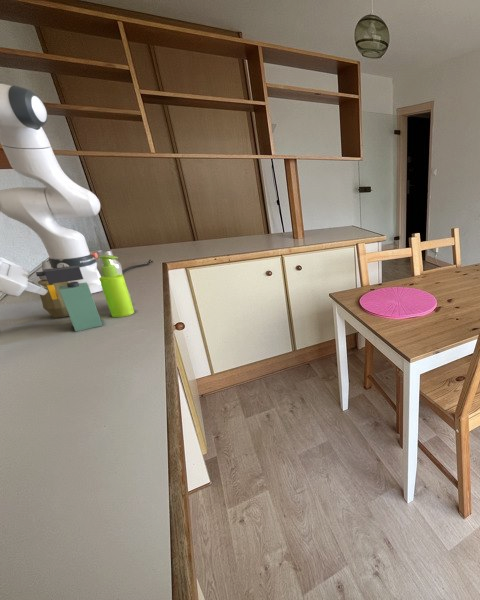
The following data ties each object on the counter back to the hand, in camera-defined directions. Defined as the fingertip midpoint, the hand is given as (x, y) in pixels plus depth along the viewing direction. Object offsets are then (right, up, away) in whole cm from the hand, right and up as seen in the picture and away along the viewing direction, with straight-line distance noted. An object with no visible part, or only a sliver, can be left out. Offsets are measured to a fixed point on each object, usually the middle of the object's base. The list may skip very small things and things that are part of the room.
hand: (46, 292), depth 88 cm
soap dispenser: (+7, -7, +17) cm, 20 cm away
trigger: (+1, -2, +2) cm, 2 cm away
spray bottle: (+3, -11, +7) cm, 13 cm away
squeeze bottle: (-11, -7, +16) cm, 21 cm away
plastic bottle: (+1, -5, +23) cm, 24 cm away
